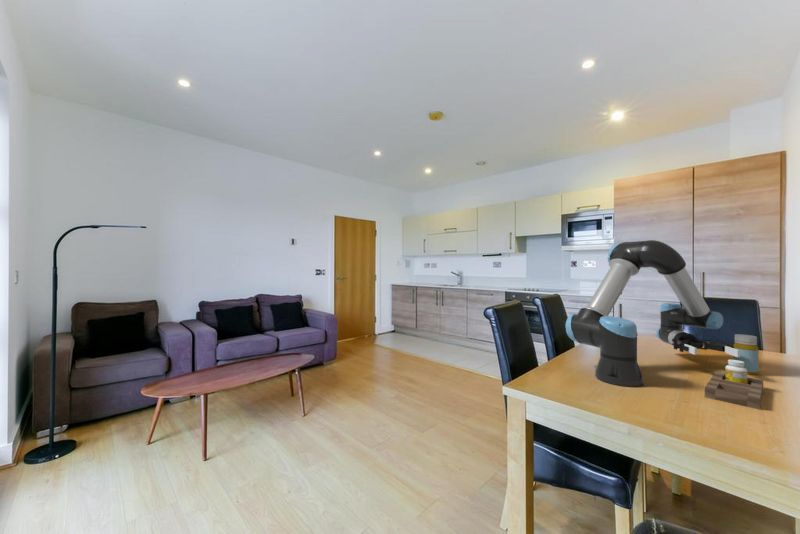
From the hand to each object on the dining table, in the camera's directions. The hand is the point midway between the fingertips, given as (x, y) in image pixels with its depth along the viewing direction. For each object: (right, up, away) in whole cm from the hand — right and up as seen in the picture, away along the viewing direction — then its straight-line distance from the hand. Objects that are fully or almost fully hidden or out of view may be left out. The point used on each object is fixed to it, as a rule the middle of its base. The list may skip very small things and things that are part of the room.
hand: (716, 352), depth 121 cm
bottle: (+19, -10, +8) cm, 23 cm away
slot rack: (-7, -10, -14) cm, 18 cm away
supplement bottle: (-2, -10, -9) cm, 14 cm away
